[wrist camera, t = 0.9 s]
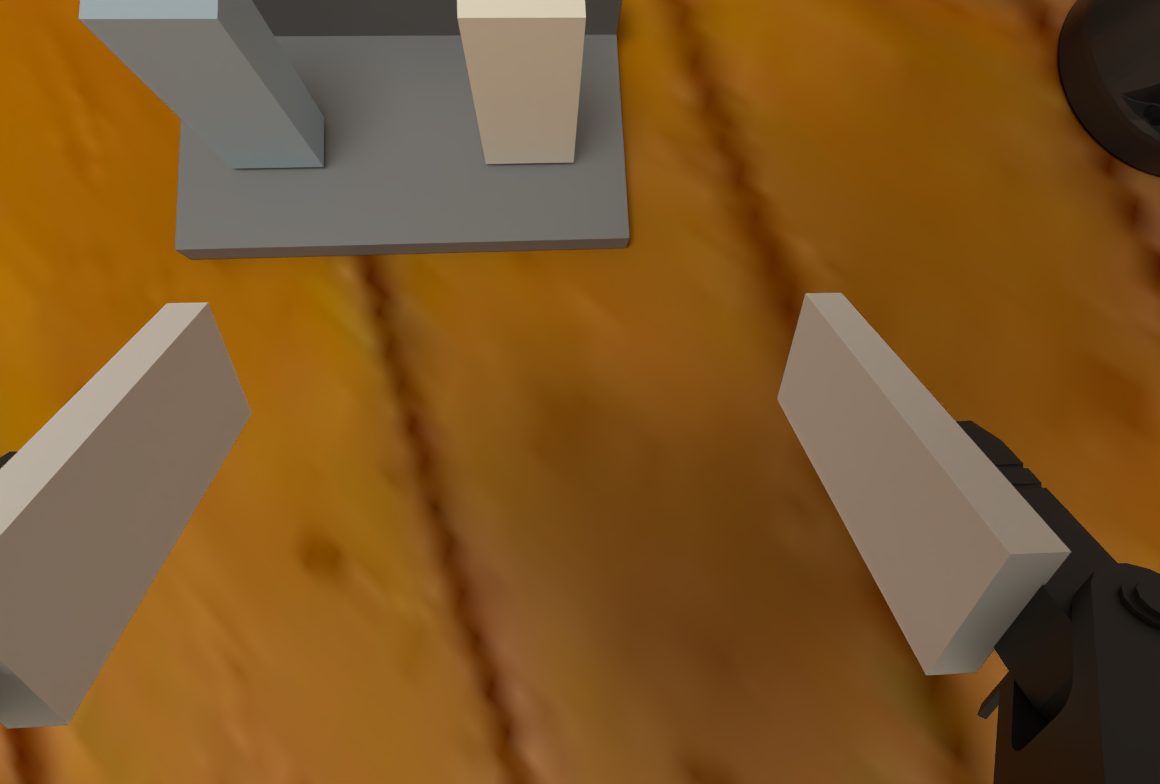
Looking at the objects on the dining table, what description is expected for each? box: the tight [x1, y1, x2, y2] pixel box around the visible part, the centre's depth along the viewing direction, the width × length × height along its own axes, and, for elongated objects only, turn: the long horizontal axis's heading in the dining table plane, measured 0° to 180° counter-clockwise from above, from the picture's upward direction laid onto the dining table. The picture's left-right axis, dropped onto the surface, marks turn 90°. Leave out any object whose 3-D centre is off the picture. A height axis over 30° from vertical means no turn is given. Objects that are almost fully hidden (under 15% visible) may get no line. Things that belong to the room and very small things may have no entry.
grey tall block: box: [79, 0, 324, 169], centre depth 28 cm, size 5×3×11 cm, turn 93°
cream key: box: [457, 0, 586, 164], centre depth 29 cm, size 5×3×11 cm, turn 93°
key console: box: [175, 0, 629, 260], centre depth 34 cm, size 25×16×5 cm, turn 93°
